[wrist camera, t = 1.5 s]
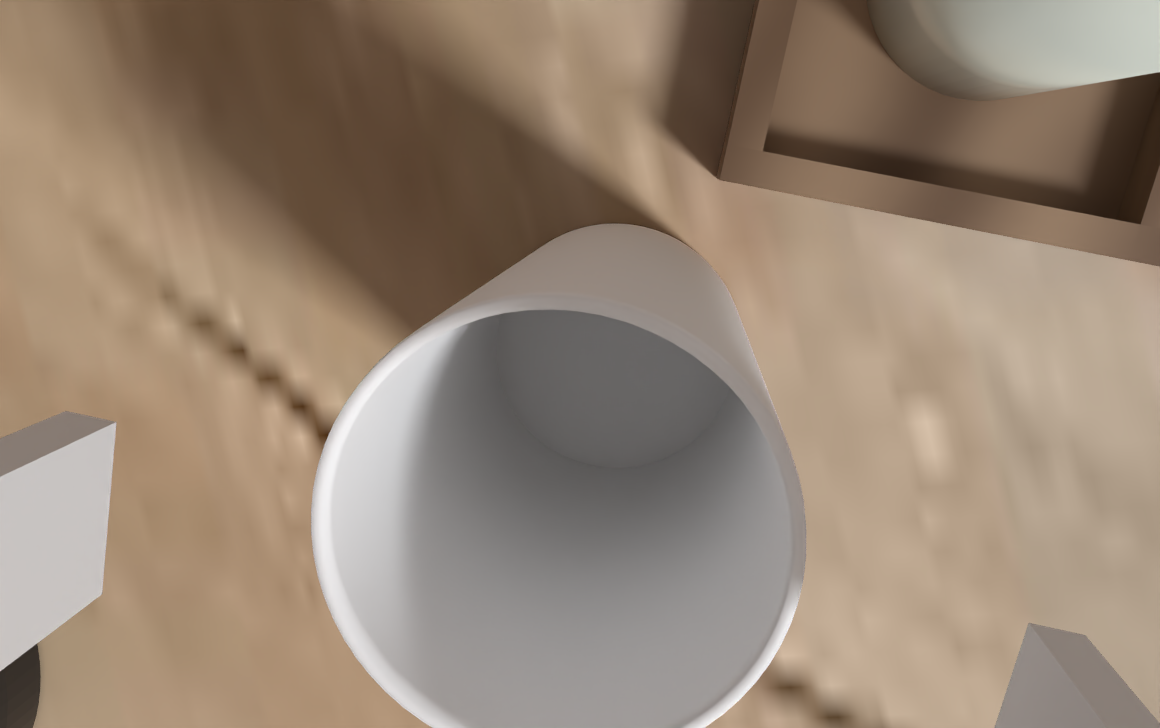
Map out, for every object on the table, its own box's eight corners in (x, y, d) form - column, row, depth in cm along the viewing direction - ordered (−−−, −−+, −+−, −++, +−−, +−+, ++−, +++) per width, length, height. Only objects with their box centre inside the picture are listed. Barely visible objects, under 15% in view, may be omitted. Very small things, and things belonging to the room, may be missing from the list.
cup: (491, 466, 33) (320, 751, 17) (488, 221, 31) (295, 287, 15) (737, 477, 32) (794, 786, 16) (749, 225, 30) (825, 300, 14)
